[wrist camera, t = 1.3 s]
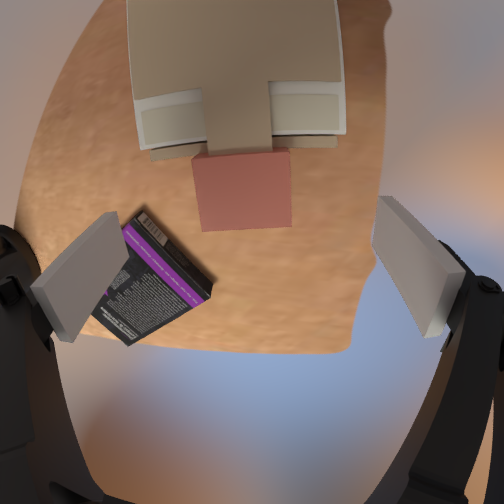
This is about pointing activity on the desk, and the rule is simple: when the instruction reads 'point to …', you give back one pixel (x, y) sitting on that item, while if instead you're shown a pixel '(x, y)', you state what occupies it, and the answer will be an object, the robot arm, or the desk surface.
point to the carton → (281, 112)
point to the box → (149, 284)
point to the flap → (234, 90)
